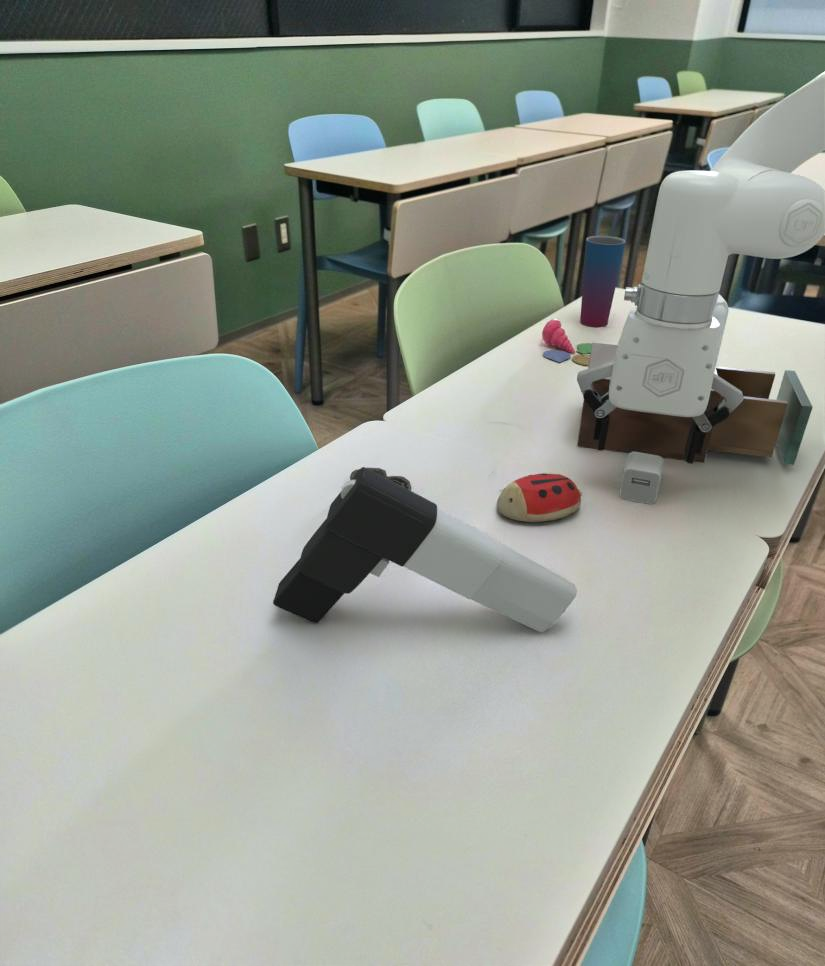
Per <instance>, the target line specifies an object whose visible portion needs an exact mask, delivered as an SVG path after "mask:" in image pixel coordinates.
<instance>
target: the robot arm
mask: <svg viewBox="0 0 825 966" xmlns="http://www.w3.org/2000/svg"><path fill="white" fill-rule="evenodd" d="M824 151H825V71H824V72H821V74H819V75H817V76H816V77H814V78H813V79H811V80H810V81H808V82H807V83H805V84H804V85H803V86H801V87H799V88H798V89H797V90H795V91H794V92H792V93H790V94H789V95H787V96H786V97H784V98H783V99H781V100H780V101H778V102H776V104H774V105H772V106H771V107H770V108H769V109H767V110H765V112H764V113H762V114H761V115H760V116H758V118H757V119H755V120H754V121H753V122H752V123H751V124H749V126H748V127H747V128H746V129H745V130H744V131H743V132H742V133H741V134H740V136H738V137H737V138H736V140H735V141H734V142H733V143H732V144H731V145H730V146H729V147H728V148H727V149H726V151H725V152H724V153H723V154H722V155H721V157H719V159H718V160H717V161H716V162H715V164H714V165H713V166H712V167H711V169H710V170H691V169H689V170H678V171H674V172H671V173H670V174H668V175H666V176H665V177H664V179H663V180H662V182H661V184H660V186H659V190H658V195H657V199H656V203H655V210H654V213H653V214H654V215H653V220H652V225H651V231H650V235H649V241H648V247H647V252H646V257H645V263H644V266H643V267H644V268H643V273H642V278H641V281H640V283H638V284H637V286H632V287H629V286H626V287H625V290H624V295H623V301H629V302H630V303H633V304H634V306H635V307H634V308H631V309H630V311H629V313H628V315H627V317H626V320H625V322H624V325H623V327H622V331H621V335H620V338H619V341H618V344H617V345H618V347H617V351H616V355H615V359H614V360H613V361H610V362H607V363H604V364H601V365H598V366H595V367H592V368H589V369H588V368H586V369H583V370H580V371H579V372H577V375H576V382H577V384H578V387H579V390H580V392H581V394H582V396H583V397H582V398H583V401H584V400H585V402H586V403H587V404H588V405H589V406H590V408H591V409H592V410H593V411H594V412H595V416H596V422H595V428H594V434H593V440H598V449H597V451H598V452H602V451H605V450H604V448H605V442H606V437H607V432H608V426H609V420H610V412H611V411H613V410H614V409H615V408H617V407H618V408H621V409H626V410H633V411H640V412H648V413H655V414H663V415H671V416H680V417H692V418H693V419H694V421H693V422H691V426H690V430H689V434H688V438H687V442H686V446H685V450H684V452H685V460H684V461H685V462H686V463H687V464H692V465H693V464H694V461H693V460H694V457H695V454H701V451H702V447H703V443H704V439H705V436H706V432H709V431H710V430H711V428H712V427H713V426H715V425H716V424H718V423H720V422H721V421H723V420H725V419H727V418H728V417H729V414H730V413H731V412H732V411H733V410H734V409H735V408H736V407H737V406H738V405H739V404H740V403H741V402H742V401H743V399H744V397H743V394H742V391H741V390H739V389H737V388H736V387H734V386H733V385H731V384H730V383H728V382H727V381H725V380H724V379H722V378H721V377H719V376H718V375H716V374H715V373H714V372H715V366H717V364H716V360H717V361H718V359H717V354H718V347H719V335H720V324H719V322H718V321H717V319H715V318H714V317H713V315H714V311H715V307H716V303H717V299H718V295H720V291H721V287H722V282H723V278H724V274H725V271H726V266H727V263H728V258H729V256H731V255H743V256H749V257H750V256H751V257H756V258H764V259H772V260H780V259H788V258H792V257H793V258H794V257H795V256H798V255H801V254H803V253H806V252H807V251H809V250H810V249H812V248H813V247H814V246H815V245H817V244H818V243H819V242H820V241H821V239H823V237H824V236H825V189H824V188H823V187H822V186H821V185H820V184H819V183H817V182H816V181H815V180H812V179H810V178H808V177H806V176H803V175H800V174H796V173H793V172H794V171H795V170H797V169H798V168H799V167H800V166H801V165H803V164H804V163H806V162H807V161H809V160H810V159H812V158H814V157H815V156H817V155H819V154H820V153H822V152H824ZM609 376H611V379H610V386H609V391H608V392H607V393H606V394H605V395H603V396H602V397H600V395H599V394H598V393H597V392H596V390H595V389H594V388H593V385H592V382H594V381H597V380H600V379H603V378H606V377H609ZM711 389H712V390H714V391H716V392H717V393H719V394H720V395H722V396H723V397H725V398H724V400H723V401H722V402H721V403H720V404H718V405H716V406H715V407H713V408H712V409H710V410H708V411H706V408H707V405H708V401H709V397H710V392H711Z"/></svg>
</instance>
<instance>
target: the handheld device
mask: <svg viewBox="0 0 825 966" xmlns="http://www.w3.org/2000/svg"><path fill="white" fill-rule="evenodd" d="M368 468H369V467H365V466H362V467H361V468H359V469H360V470H359V471H358V472H357V473H356V474H355V475H354V477H353V478H352V479H351V480H350V479H349V480H348V481H345V483H343V486H342V487H341V491H340V492H339V493H338V495H337V496H336V497H335V498H334V499H333V501H332V502H331V504H330V505H329V508H328V511H327V516H326V518H325V519H324V520H323V522H322V523H321V525H319V527H318V528H317V529H316V531H315V532H314V533H313V534H312V536H311V537H310V538H309V540H308V541H306V543H305V545H304V546H303V548H302V551H301V554H300V557H299V559H298V560H297V561H296V562H295V564H294V565H293V566H292V567H291V568H290V569H289V570H288V572H287V573H286V574H285V575H284V577H282V579H281V580H280V581H279V583H278V585H277V589H276V591H275V594H274V598H273V600H272V603H273V605H274V606H275V607H277V608H279V609H281V610H283V611H285V612H288V613H290V614H292V615H294V616H296V617H299V618H300V619H303V620H305V621H306V622H307V621H308V622H309V623H312V624H314V625H315V624H319V623H320V622H321V621H322V620H323V619H324V618H325V617H326V615H327V614H328V613H329V612H330V611H331V610H332V608H333V607H334V606H336V604H337V603H338V602H339V600H340V599H341V598H342V597H343V596H344V594H346V595H349V594H351V593H352V592H353V591H355V590H356V589H357V588H358V586H359V585H360V584H361V583H362V582H363V581H364V580H366V578H367V577H368V575H370V574H371V575H374V576H375V577H377V578H379V577H380V576H381V575H382V573H383V572H384V571H385V570H386V568H387V567H388V566H389V564H390V562H392V563H394V564H395V565H398V566H400V567H404V568H405V569H407V570H410V571H412V572H414V573H416V574H418V575H420V576H421V577H424V578H425V579H428V580H430V581H431V582H434V583H436V584H437V585H440V586H441V587H444V588H446V589H447V590H450V591H452V592H453V593H456V594H458V595H460V596H461V597H463V598H465V599H467V600H471V601H474V602H475V603H478V604H480V605H482V606H484V607H486V608H488V609H490V610H492V611H495V612H496V613H499V614H501V615H503V616H505V617H507V618H509V619H512V620H514V621H516V622H518V623H520V624H522V625H524V626H527V627H528V628H531V629H533V630H535V631H537V632H539V633H544V632H545V631H547V630H548V629H549V628H550V627H552V626H553V625H554V624H556V623H557V621H558V620H559V619H560V618H561V617H562V615H563V614H564V613H565V612H566V610H567V609H568V608H569V606H570V605H571V604H572V602H573V601H574V600H575V598H576V596H577V593H578V591H577V590H578V589H577V586H576V584H575V583H574V582H571V581H570V580H568V579H566V578H565V577H563V576H561V575H559V574H558V573H556V572H554V571H552V570H551V569H549V568H547V567H545V566H543V565H542V564H540V563H538V562H536V561H534V560H533V559H531V558H530V557H527V556H525V555H523V554H521V552H518V551H517V550H515V549H513V548H512V547H509V546H508V545H506V544H504V543H502V541H501V540H500V539H498V538H496V537H494V536H492V535H490V534H489V533H486V532H485V531H483V530H481V529H479V528H477V527H475V526H474V525H471V524H469V523H467V522H465V521H464V520H462V519H460V518H457V517H456V516H454V515H452V514H450V513H448V512H446V511H444V510H442V509H440V508H438V505H437V504H436V503H435V502H433V501H431V500H429V499H427V498H425V497H423V496H421V495H420V494H417V493H416V492H414V491H412V490H411V491H410V490H408V489H406V488H404V487H402V486H400V485H398V484H396V483H395V482H393V481H391V480H389V479H387V478H385V477H383V476H381V475H379V474H377V473H375V472H373V471H371V470H370V469H368Z"/></svg>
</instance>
